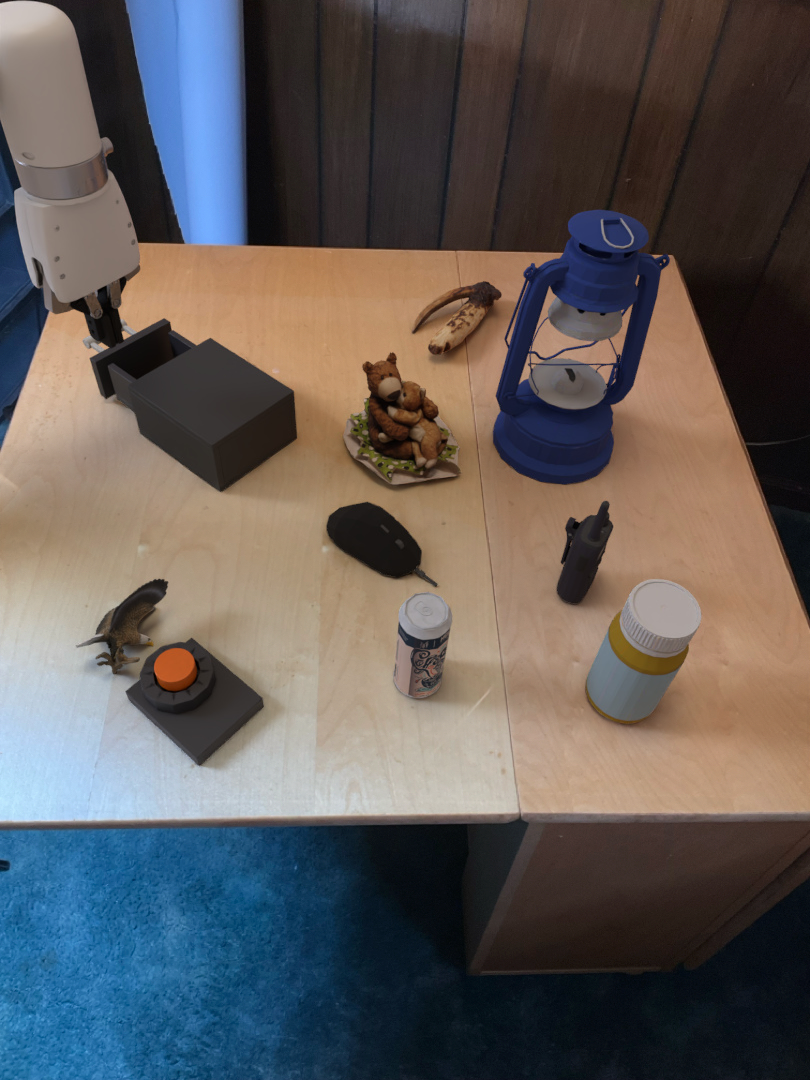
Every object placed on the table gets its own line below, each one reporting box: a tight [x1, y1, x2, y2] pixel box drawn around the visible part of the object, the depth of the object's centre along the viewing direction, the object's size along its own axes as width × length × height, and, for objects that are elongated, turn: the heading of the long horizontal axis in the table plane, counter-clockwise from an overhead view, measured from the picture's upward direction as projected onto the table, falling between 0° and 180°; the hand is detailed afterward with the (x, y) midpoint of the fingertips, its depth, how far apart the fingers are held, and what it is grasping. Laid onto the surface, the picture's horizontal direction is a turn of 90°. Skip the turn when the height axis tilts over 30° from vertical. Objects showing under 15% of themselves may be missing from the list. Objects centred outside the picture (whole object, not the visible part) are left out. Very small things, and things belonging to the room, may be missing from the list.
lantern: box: [492, 209, 671, 486], centre depth 91 cm, size 17×15×30 cm
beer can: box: [392, 591, 454, 699], centre depth 75 cm, size 5×5×12 cm
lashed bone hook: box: [411, 280, 502, 356], centre depth 115 cm, size 9×5×18 cm
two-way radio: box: [556, 500, 614, 605], centre depth 82 cm, size 6×4×15 cm
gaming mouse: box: [326, 501, 439, 588], centre depth 88 cm, size 6×15×4 cm, turn 51°
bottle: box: [585, 578, 702, 725], centre depth 74 cm, size 7×7×15 cm
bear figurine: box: [342, 351, 462, 485], centre depth 95 cm, size 14×15×12 cm
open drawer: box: [82, 317, 198, 412], centre depth 101 cm, size 19×11×6 cm, turn 50°
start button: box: [154, 648, 197, 691], centre depth 74 cm, size 4×4×2 cm
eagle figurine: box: [75, 578, 169, 675], centre depth 78 cm, size 8×7×9 cm
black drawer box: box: [127, 337, 298, 493], centre depth 97 cm, size 15×13×8 cm
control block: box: [125, 637, 265, 767], centre depth 75 cm, size 10×8×4 cm
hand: (108, 339), depth 86 cm, fingers closed
